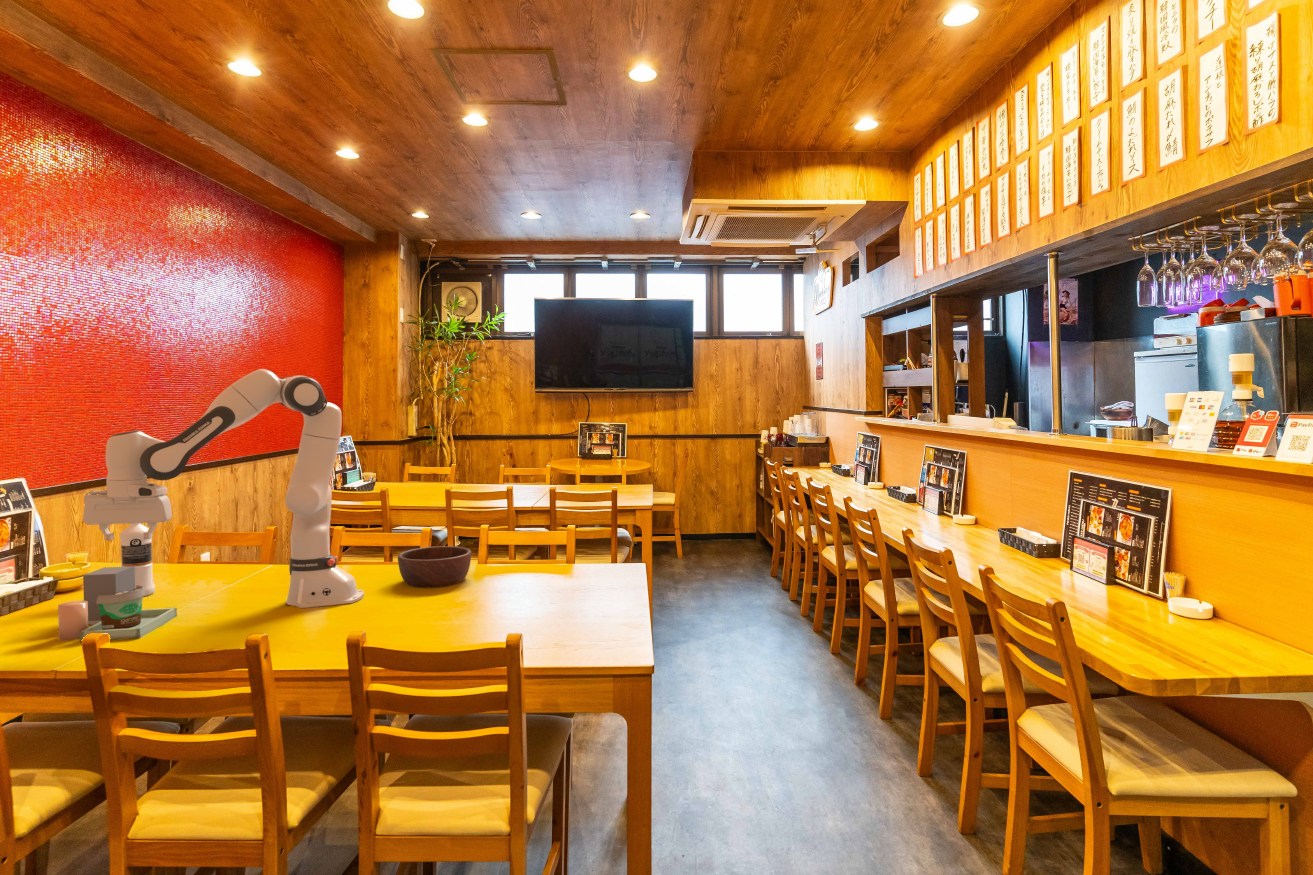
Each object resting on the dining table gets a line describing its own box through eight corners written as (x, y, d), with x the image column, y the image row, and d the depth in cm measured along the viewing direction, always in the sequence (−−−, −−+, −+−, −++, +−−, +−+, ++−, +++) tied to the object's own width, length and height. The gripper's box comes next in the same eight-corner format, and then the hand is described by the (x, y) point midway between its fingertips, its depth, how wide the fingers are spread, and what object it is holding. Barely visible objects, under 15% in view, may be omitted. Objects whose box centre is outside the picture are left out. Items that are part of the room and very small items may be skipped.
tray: (176, 616, 199) (176, 607, 199) (140, 637, 180) (139, 628, 180) (122, 619, 196) (122, 610, 196) (79, 641, 177) (79, 632, 177)
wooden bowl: (408, 573, 252) (407, 546, 252) (476, 572, 255) (476, 545, 255) (389, 591, 227) (388, 561, 227) (465, 589, 230) (464, 559, 230)
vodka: (158, 590, 229) (155, 502, 228) (151, 596, 220) (149, 505, 219) (124, 593, 225) (121, 503, 224) (116, 600, 216) (113, 507, 215)
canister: (93, 632, 184) (92, 599, 184) (79, 639, 178) (78, 605, 178) (68, 633, 183) (67, 601, 183) (53, 641, 177) (52, 607, 177)
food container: (116, 633, 181) (115, 597, 181) (97, 632, 182) (95, 596, 182) (157, 620, 193) (156, 585, 193) (139, 619, 194) (138, 584, 194)
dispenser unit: (141, 611, 204) (140, 565, 204) (118, 622, 193) (117, 574, 192) (103, 613, 202) (102, 566, 202) (78, 625, 190) (76, 576, 190)
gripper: (76, 492, 181) (78, 543, 182) (162, 489, 186) (164, 539, 186) (91, 489, 188) (92, 538, 188) (173, 487, 192) (175, 535, 192)
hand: (128, 539), depth 187 cm, fingers open, 8 cm apart
